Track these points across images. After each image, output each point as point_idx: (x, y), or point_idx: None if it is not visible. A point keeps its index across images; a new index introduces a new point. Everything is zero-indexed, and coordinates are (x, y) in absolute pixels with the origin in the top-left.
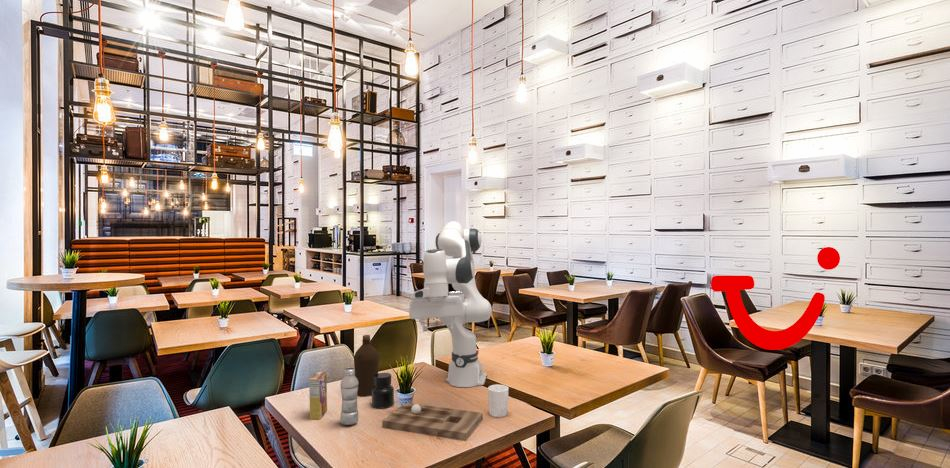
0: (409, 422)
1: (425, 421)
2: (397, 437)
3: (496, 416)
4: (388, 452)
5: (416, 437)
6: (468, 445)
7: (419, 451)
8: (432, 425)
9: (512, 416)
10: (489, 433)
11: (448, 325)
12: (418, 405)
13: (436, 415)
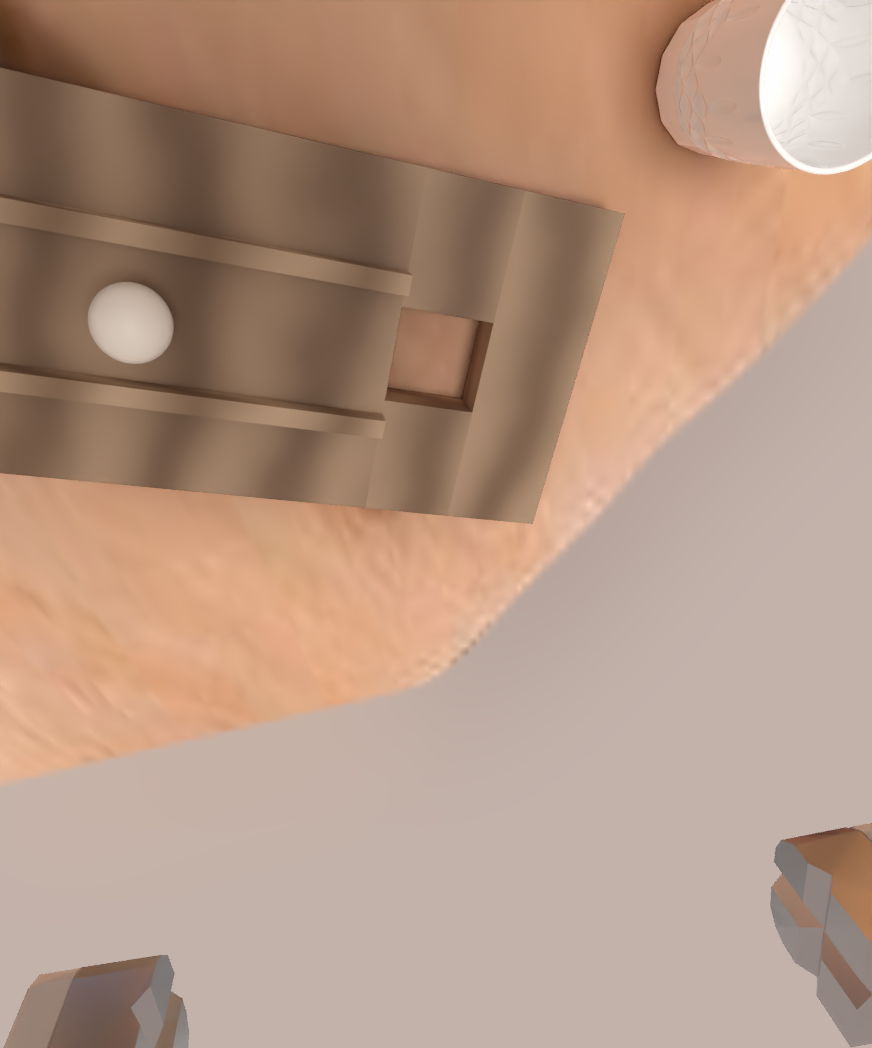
0: (155, 461)
1: (258, 427)
2: (137, 547)
3: (699, 152)
4: (173, 684)
5: (247, 525)
6: (534, 547)
7: (317, 644)
8: (323, 472)
9: None
10: (636, 404)
11: (848, 1037)
12: (148, 334)
13: (302, 315)
